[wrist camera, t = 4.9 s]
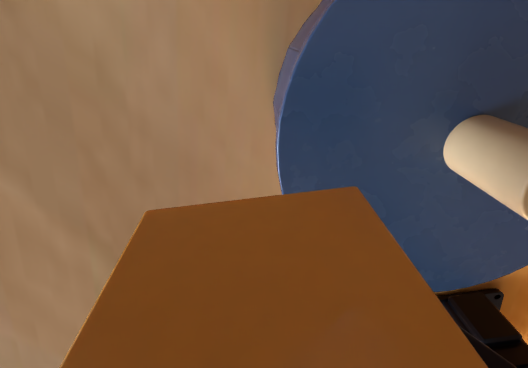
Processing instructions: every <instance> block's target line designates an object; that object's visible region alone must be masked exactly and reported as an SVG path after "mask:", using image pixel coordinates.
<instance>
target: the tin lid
mask: <svg viewBox="0 0 528 368" xmlns="http://www.w3.org/2000/svg"><path fill="white" fill-rule="evenodd" d="M276 161H277V171H278V176H279V181H280V186H281V191H282V195H284V194H292V193H301V192H309V191H318V190H326V189H335V188H343V187H352V186H355V187H358V189H359V190H360V191H361V193H362V194H363V196H364V197H365V198H366V200H367V201H368V203H369V204H370V205H371V207H372V208H373V209H374V211H375V212H376V214H377V215H378V216H379V218H380V219H381V220H382V222H383V223H384V225H385V226H386V227H387V229H388V230H389V231H390V233H391V234H392V236H393V237H394V238H395V240H396V241H397V243H398V244H399V245H400V247H401V248H402V249H403V251H404V252H405V254H406V255H407V256H408V258H409V259H410V260H411V262H412V263H413V265H414V266H415V267H416V269H417V270H418V272H419V273H420V274H421V276H422V277H423V278H424V280H425V281H426V283H427V284H428V285H429V287H430V288H431V289H432V291H433V292H441V291H450V290H456V289H461V288H466V287H471V286H474V285H478V284H482V283H485V282H489V281H491V280H494V279H497V278H500V277H502V276H505V275H508V274H510V273H512V272H514V271H516V270H519V269H521V268H523V267H525V266H527V265H528V0H332V1H331V2H330V4H329V5H328V6H327V7H326V8H325V10H324V12H323V13H322V15H321V16H320V18H319V19H318V21H317V22H316V24H315V25H314V27H313V28H312V30H311V31H310V33H309V34H308V36H307V38H306V40H305V42H304V44H303V46H302V48H301V50H300V52H299V54H298V56H297V58H296V60H295V62H294V64H293V67H292V70H291V72H290V75H289V78H288V81H287V84H286V86H285V89H284V92H283V97H282V101H281V106H280V110H279V115H278V122H277V133H276Z"/></svg>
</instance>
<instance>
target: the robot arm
mask: <svg viewBox="0 0 528 368" xmlns="http://www.w3.org/2000/svg"><path fill="white" fill-rule="evenodd" d="M503 297H504V294H503V293H502V292H501V291H500V290H499V289H488V290H481V291H473V292H466V293H459V294H451V295H444V296H437V298H438V299H439V300H440V302H441V303H442V305H443V306H444V307H445V309H446V310H447V312H448V313H449V314H450V316H451V317H452V318H453V320H454V321H455V323H456V324H457V325H458V327H459V328H460V329H461V331H462V332H463V334H464V335H465V336H466V338H467V339H468V341H469V342H470V343H471V345H472V346H473V347H474V349H475V350H476V352H477V353H478V354H479V356H480V357H481V358H482V360H483V361H484V363H485V364H486V365H487V367H488V368H528V345H527V344H526V342H525V341H524V340H523V339H522V335H521V334H520V333H519V332H518V331H517V330H516V329H515V327H514V326H513V325H512V324H511V323H510V322H509V321H508V320H507V319H506V318H505V317H504V315H503V314H502V313H501V312H500V308H501V304H502V300H503Z"/></svg>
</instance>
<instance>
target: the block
mask: <svg viewBox="0 0 528 368" xmlns="http://www.w3.org/2000/svg"><path fill="white" fill-rule="evenodd" d="M59 368H488V367H487V365H486V364H485V363H484V361H483V360H482V358H481V357H480V356H479V354H478V353H477V352H476V350H475V349H474V347H473V346H472V345H471V343H470V342H469V341H468V339H467V338H466V336H465V335H464V334H463V332H462V331H461V329H460V328H459V327H458V325H457V324H456V323H455V321H454V320H453V318H452V317H451V316H450V314H449V313H448V312H447V310H446V309H445V307H444V306H443V305H442V303H441V302H440V300H439V299H438V298H437V296H436V295H435V294H434V292H433V291H432V289H431V288H430V287H429V285H428V284H427V283H426V281H425V280H424V278H423V277H422V276H421V274H420V273H419V272H418V270H417V269H416V267H415V266H414V265H413V263H412V262H411V260H410V259H409V258H408V256H407V255H406V254H405V252H404V251H403V249H402V248H401V247H400V245H399V244H398V243H397V241H396V240H395V238H394V237H393V236H392V234H391V233H390V231H389V230H388V229H387V227H386V226H385V225H384V223H383V222H382V220H381V219H380V218H379V216H378V215H377V214H376V212H375V211H374V209H373V208H372V207H371V205H370V204H369V203H368V201H367V200H366V198H365V197H364V196H363V194H362V193H361V191H360V190H359V189H358V187H355V186H352V187H343V188H335V189H326V190H318V191H309V192H301V193H292V194H284V195H275V196H267V197H259V198H250V199H242V200H233V201H225V202H216V203H208V204H199V205H191V206H182V207H174V208H165V209H157V210H149V211H146V212H145V213H144V215H143V217H142V219H141V220H140V222H139V224H138V226H137V228H136V229H135V231H134V233H133V235H132V237H131V239H130V240H129V242H128V244H127V246H126V248H125V249H124V251H123V253H122V255H121V257H120V258H119V260H118V262H117V264H116V266H115V268H114V269H113V271H112V273H111V275H110V277H109V278H108V280H107V282H106V284H105V286H104V287H103V289H102V291H101V293H100V295H99V297H98V298H97V300H96V302H95V304H94V306H93V307H92V309H91V311H90V313H89V315H88V317H87V318H86V320H85V322H84V324H83V326H82V327H81V329H80V331H79V333H78V335H77V336H76V338H75V340H74V342H73V344H72V346H71V347H70V349H69V351H68V353H67V355H66V356H65V358H64V360H63V362H62V364H61V365H60V367H59Z"/></svg>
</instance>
